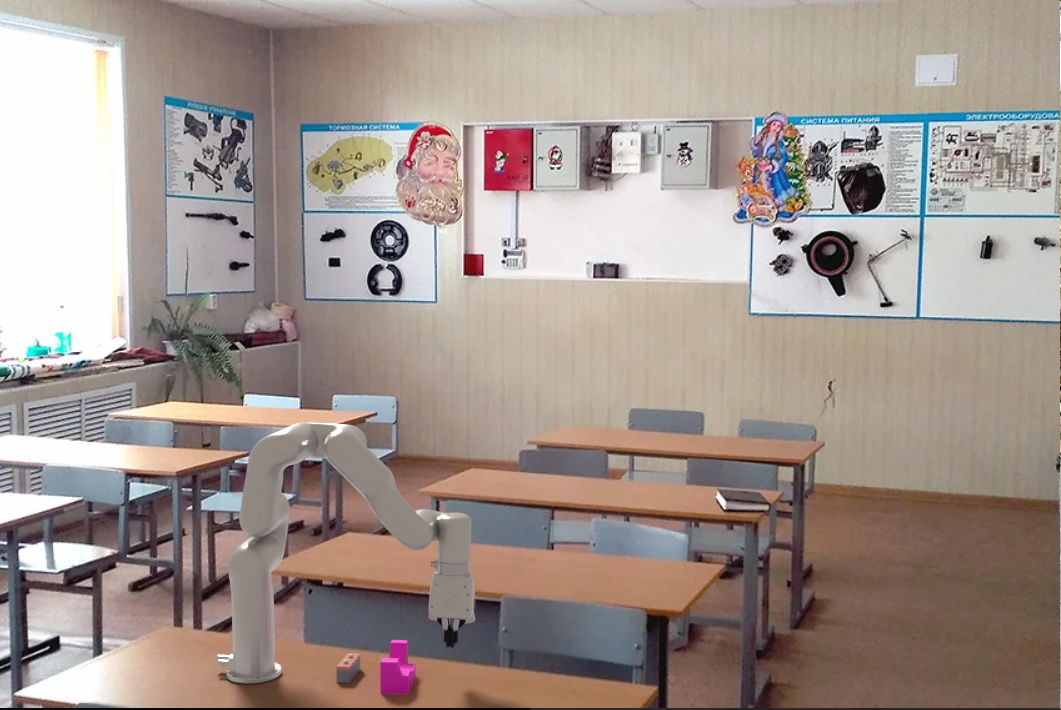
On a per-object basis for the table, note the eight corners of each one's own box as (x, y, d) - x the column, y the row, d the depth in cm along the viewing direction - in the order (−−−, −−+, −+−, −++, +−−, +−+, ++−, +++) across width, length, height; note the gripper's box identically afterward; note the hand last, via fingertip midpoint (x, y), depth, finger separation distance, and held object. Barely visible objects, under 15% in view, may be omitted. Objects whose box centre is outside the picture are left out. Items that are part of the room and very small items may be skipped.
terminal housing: (336, 682, 266) (336, 663, 266) (348, 668, 275) (347, 650, 275) (349, 683, 266) (349, 664, 265) (360, 669, 275) (360, 651, 274)
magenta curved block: (408, 695, 259) (408, 662, 259) (380, 694, 260) (380, 662, 259) (418, 671, 274) (418, 640, 274) (392, 670, 274) (392, 639, 274)
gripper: (417, 569, 262) (415, 648, 264) (482, 574, 261) (479, 653, 262) (425, 560, 270) (422, 637, 272) (488, 565, 268) (485, 642, 270)
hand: (450, 645), depth 267 cm, fingers closed
